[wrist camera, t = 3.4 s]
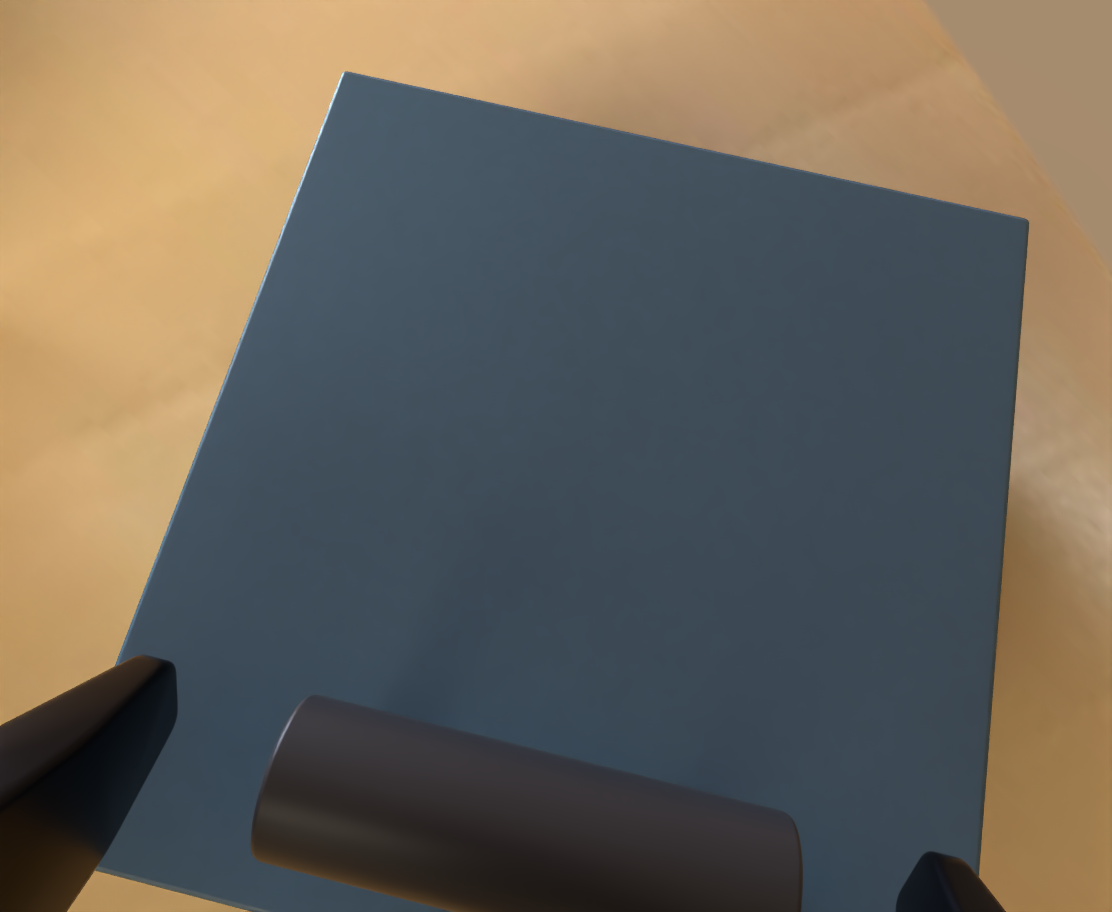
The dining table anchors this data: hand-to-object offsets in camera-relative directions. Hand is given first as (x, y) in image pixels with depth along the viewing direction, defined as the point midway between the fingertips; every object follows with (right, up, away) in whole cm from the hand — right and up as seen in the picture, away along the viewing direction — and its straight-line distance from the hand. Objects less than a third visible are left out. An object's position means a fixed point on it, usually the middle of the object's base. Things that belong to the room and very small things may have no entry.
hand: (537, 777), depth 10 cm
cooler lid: (+1, +3, +3) cm, 4 cm away
